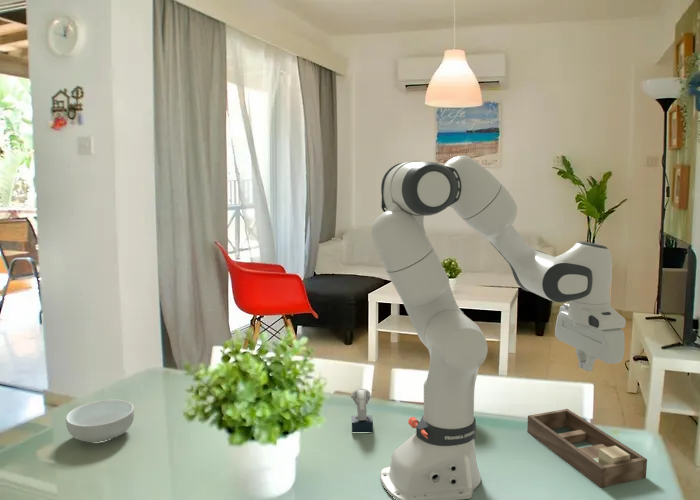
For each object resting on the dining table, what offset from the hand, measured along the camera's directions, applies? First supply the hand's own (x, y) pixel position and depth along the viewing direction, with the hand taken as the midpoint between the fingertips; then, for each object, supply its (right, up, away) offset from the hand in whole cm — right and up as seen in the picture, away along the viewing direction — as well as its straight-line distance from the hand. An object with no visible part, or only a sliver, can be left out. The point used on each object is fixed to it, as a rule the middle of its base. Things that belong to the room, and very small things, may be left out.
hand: (585, 369), depth 143 cm
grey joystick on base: (-52, -20, +20) cm, 59 cm away
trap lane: (+1, -21, +5) cm, 22 cm away
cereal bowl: (-121, -22, +20) cm, 124 cm away
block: (+4, -21, -5) cm, 22 cm away
